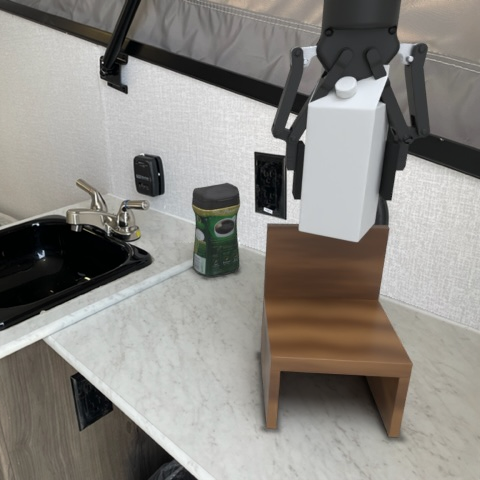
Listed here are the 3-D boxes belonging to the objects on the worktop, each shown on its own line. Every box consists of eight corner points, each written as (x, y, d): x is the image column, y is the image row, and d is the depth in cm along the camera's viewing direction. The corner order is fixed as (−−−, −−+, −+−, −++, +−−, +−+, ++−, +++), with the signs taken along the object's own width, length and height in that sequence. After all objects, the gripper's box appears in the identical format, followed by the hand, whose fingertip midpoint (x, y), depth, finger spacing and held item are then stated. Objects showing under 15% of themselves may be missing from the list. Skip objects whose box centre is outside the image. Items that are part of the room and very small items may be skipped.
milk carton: (318, 214, 66) (332, 62, 58) (374, 224, 62) (397, 62, 54) (297, 232, 60) (310, 67, 53) (358, 244, 56) (380, 67, 49)
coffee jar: (225, 257, 112) (226, 177, 105) (244, 271, 105) (247, 186, 98) (187, 266, 108) (185, 184, 101) (204, 281, 101) (204, 194, 94)
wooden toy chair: (398, 437, 61) (429, 278, 53) (266, 428, 63) (276, 274, 55) (366, 359, 76) (387, 224, 67) (260, 353, 78) (267, 223, 70)
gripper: (254, -10, 49) (246, 205, 58) (498, -22, 46) (451, 208, 54) (252, -5, 56) (245, 187, 64) (464, -15, 53) (427, 188, 61)
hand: (340, 196), depth 59 cm, fingers closed on milk carton, 9 cm apart
